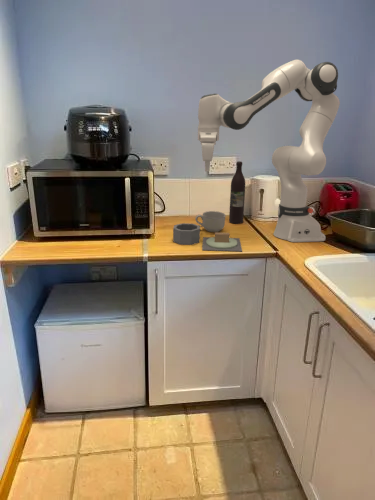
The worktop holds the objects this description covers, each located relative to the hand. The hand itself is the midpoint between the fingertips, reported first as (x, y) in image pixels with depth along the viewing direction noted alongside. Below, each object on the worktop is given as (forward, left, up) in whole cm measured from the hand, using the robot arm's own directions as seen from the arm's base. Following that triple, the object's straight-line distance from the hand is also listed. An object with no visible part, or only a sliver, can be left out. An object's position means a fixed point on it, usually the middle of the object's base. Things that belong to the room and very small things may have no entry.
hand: (207, 169), depth 161 cm
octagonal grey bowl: (+8, +9, -29) cm, 31 cm away
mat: (-7, +13, -29) cm, 33 cm away
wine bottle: (-15, -22, -29) cm, 40 cm away
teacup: (-2, -7, -29) cm, 30 cm away
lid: (-7, +13, -29) cm, 32 cm away
